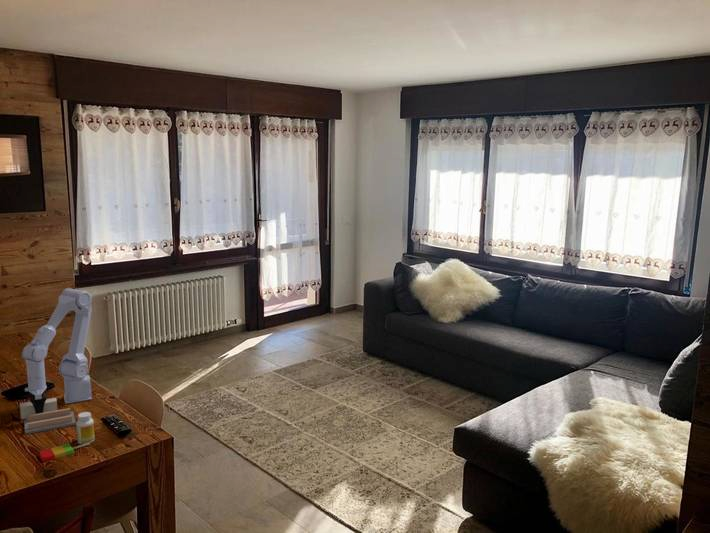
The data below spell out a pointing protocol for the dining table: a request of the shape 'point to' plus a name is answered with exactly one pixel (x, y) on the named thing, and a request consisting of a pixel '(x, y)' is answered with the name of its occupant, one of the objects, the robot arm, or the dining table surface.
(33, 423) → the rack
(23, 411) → the beige rectangular block
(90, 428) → the supplement bottle
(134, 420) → the dining table surface
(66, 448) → the popsicle
